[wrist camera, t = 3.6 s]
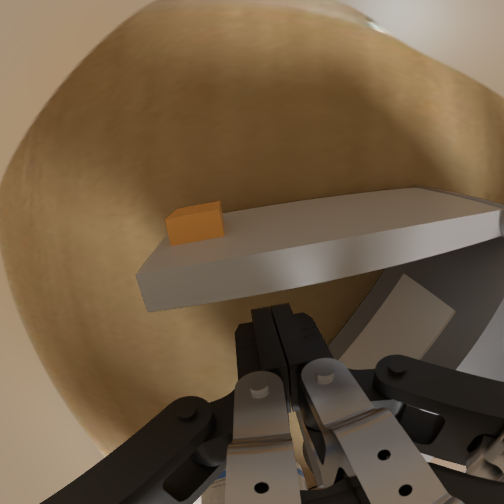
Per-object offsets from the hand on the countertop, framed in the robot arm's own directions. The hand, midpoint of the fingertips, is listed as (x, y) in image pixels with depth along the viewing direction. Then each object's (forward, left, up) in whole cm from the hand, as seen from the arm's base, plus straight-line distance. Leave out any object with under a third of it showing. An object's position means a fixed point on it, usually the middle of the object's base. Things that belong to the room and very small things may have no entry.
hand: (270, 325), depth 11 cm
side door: (+5, 0, -3) cm, 6 cm away
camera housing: (+1, -10, -3) cm, 10 cm away
